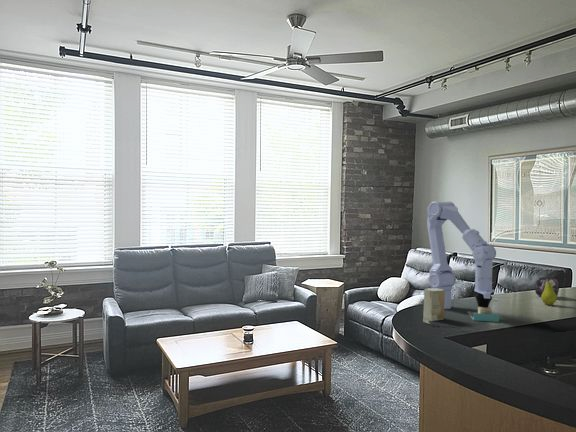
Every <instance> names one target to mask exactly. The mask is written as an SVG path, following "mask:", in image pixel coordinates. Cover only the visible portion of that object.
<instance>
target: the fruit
mask: <svg viewBox="0 0 576 432" xmlns="http://www.w3.org/2000/svg"><path fill="white" fill-rule="evenodd" d="M545 277H546V276H544V278H545ZM545 279H546V278H545ZM540 297H541V301H542V302H543V304H544V305H546V306H552V305H554V304H555V303H556V302H557V299H558V298H557V297H558V295H557V296H556V294H555V292H554V290H553V287H552V285H551V283H550V282H549V281H547V280H546V285H545V289H544V292H543V293H542V296H540Z"/></svg>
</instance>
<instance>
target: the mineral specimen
mask: <svg viewBox="0 0 576 432" xmlns="http://www.w3.org/2000/svg"><path fill="white" fill-rule="evenodd" d="M544 277H545V278H546V279H545V278H544ZM544 277H543V276H542V277H538V278H536V282H535V284H534V285H535V286H534V291H535V294H536V295H537V296H539V297H541V296H542V293H543V292H544V289H545V285H546V280H547V281H549V282H550V283H551V285H552V287H553V290H554V292H555V294H556V296H557V297H558V296H559V291H560V286H559V281H558V280H557V279H555V278H553V277H546V276H544Z"/></svg>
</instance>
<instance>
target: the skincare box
mask: <svg viewBox="0 0 576 432" xmlns="http://www.w3.org/2000/svg"><path fill="white" fill-rule="evenodd" d="M423 291H424V292H423V312H422V314H423V317H422V318H423V319H422V322H423V323H426V324H428V325H434V324H433V323H430V322H435V321H441V320H443V321H444V319H445V318H444V317H445V309H444V298H445V290H442V289H438V288H433V289H428V288H424V290H423Z"/></svg>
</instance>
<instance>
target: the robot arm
mask: <svg viewBox="0 0 576 432" xmlns="http://www.w3.org/2000/svg"><path fill="white" fill-rule="evenodd" d="M426 211H427V218H426V219H427V221H426V226H427V232H428V238H429V240H428V241H429V245H430V246H429V247H430V252H431V257H432V266H431V268H430V269H429V271H428V272H429V277H428V283H429V286H430V288H429V287H428V288H427V289H433V288H438V289H442V290H445V298H444V310H450V309H452V289H453V288H454V287H453V286H455V284H456V281H457V279H456V275H455V274H454V271H453V268H452V267H451V266H450V265H449V263H448V261H447V260H448V259H447V252H446V246H445V240H444V233H443V228H442V226H443V225H444V224H445V223H446V221H450V222H451V223H452V224H453V225H454V226H455V227H456V229H458V231H459V232H460V233H461V234H462V238H461V239H462V240H463V241H464V242H465V244H466V245H467V247H469V249H470V250H471V251H472V257H473V259H474V264H475V270H474V271H475V273H474V274H475V275H474V277H475V278H474V289H473V291H474V292H476V293H475V294H474V295H473V296H474V298H475V300H476V303H477V308H478V307H489V305H490V303H491V301H492V300H493V297H492V295H491V294H492V293H496V289H493V263H494V262H493V260H494V259H495V258H496V256H497V250H496V248H495V247H494V245H492V244H489V243H488V242H487V240H484V238H483V237H482V236H481V235H480V232H479V230H476V229H475V228H471V227H470V226H469V225H468V223H467V222H466V221H465V219H464V218H463V216H462V215H461V213H460V212H459V208H458V207H457V206H456V205H455V203H454V202H452V201H436V200H434V201H432V202H430V203H429V205H428V207H427V208H426ZM477 293H478V294H477Z"/></svg>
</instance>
